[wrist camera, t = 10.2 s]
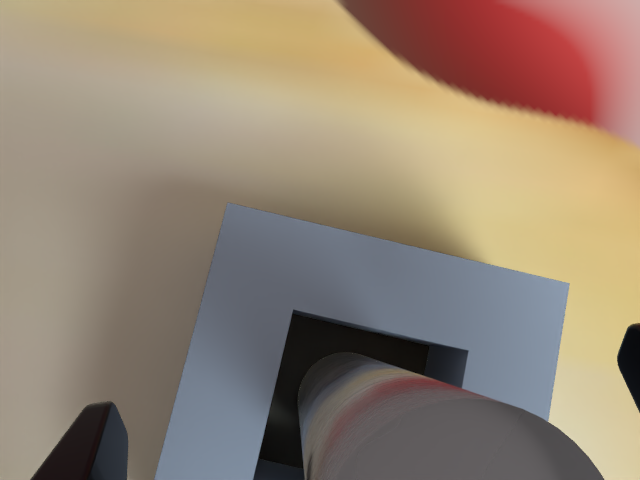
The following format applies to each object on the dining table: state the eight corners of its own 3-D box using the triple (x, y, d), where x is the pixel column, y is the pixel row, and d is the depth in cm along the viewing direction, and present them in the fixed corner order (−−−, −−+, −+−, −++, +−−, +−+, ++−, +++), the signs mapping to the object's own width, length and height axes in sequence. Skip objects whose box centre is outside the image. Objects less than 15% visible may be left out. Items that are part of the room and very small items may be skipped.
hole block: (458, 585, 17) (510, 663, 13) (166, 519, 17) (128, 577, 13) (509, 293, 18) (569, 283, 14) (241, 229, 18) (227, 202, 14)
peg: (338, 472, 17) (458, 825, 5) (277, 393, 18) (247, 542, 5) (412, 408, 18) (695, 587, 5) (352, 332, 18) (487, 335, 6)
